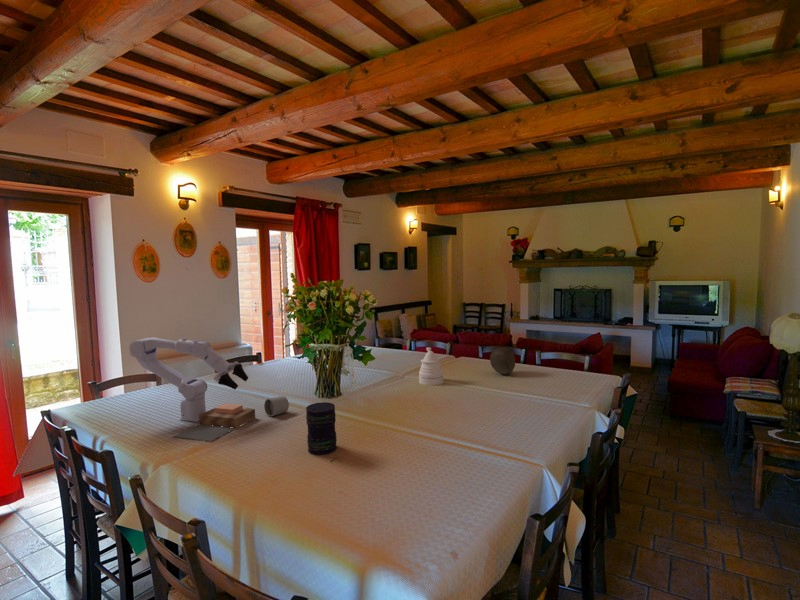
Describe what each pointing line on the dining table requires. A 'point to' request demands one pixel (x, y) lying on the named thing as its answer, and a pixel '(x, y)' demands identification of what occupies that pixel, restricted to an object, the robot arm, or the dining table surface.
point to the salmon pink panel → (228, 408)
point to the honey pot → (430, 370)
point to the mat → (204, 432)
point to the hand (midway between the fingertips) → (242, 383)
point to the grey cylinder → (276, 405)
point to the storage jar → (321, 428)
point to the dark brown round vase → (502, 360)
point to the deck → (227, 418)
